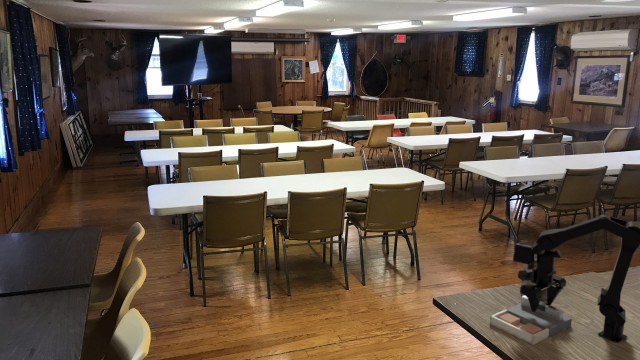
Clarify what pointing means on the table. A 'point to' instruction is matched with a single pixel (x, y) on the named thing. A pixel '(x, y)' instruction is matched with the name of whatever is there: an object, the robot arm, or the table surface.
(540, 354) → the table surface
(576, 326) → the table surface
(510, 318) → the tile
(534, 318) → the board
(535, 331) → the tile
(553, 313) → the sleeved grey plank
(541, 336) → the tray
